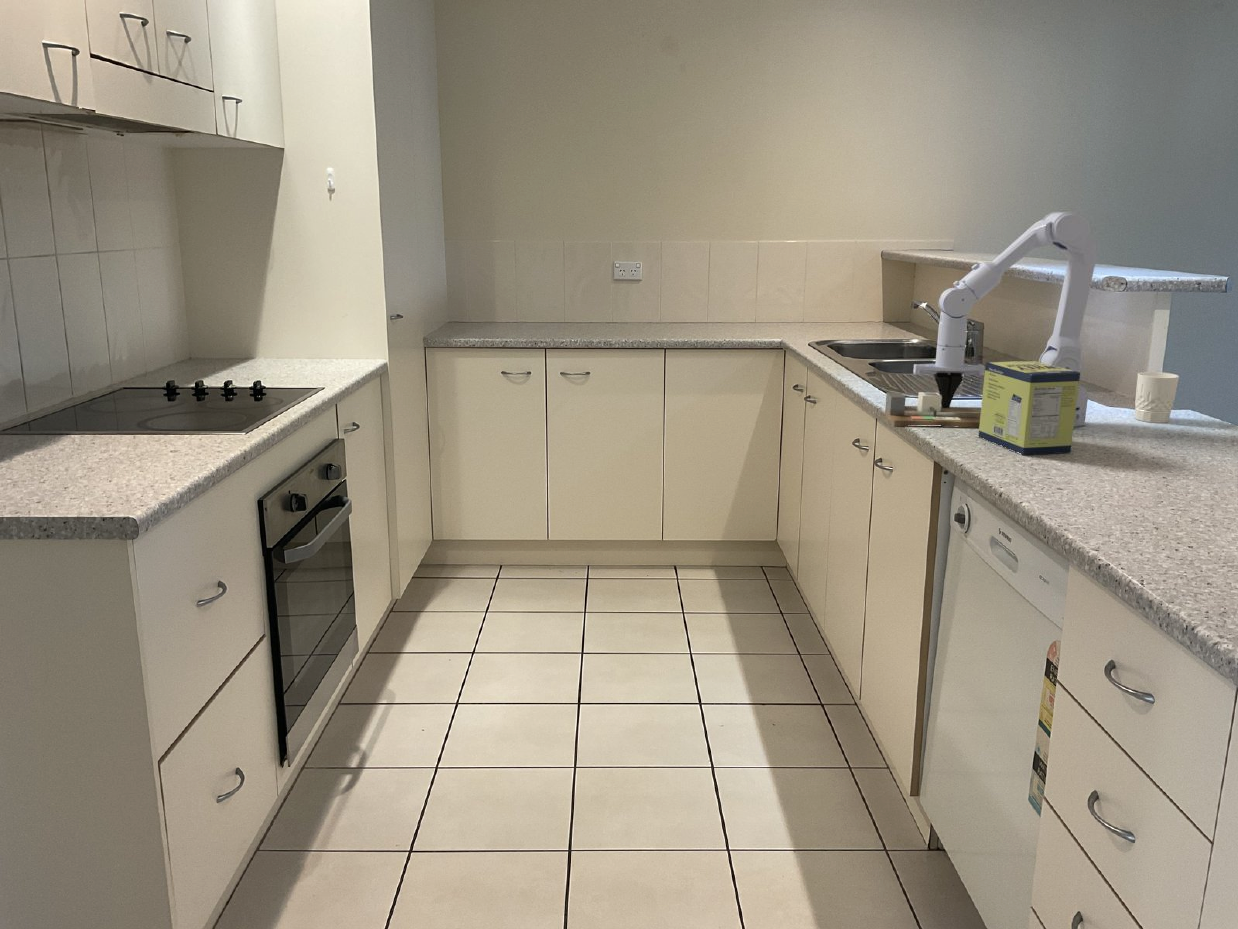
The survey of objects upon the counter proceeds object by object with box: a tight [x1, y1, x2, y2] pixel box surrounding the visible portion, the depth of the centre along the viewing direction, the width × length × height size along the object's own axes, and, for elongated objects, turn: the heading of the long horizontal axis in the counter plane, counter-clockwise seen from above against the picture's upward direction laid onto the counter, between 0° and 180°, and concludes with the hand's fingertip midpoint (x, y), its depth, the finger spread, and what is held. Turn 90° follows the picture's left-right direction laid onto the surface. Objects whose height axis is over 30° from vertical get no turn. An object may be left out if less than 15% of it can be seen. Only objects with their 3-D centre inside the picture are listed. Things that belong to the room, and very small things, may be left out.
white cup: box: [1133, 371, 1180, 424], centre depth 211 cm, size 8×8×10 cm
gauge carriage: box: [917, 391, 942, 417], centre depth 210 cm, size 4×8×4 cm, turn 175°
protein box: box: [978, 359, 1081, 456], centre depth 188 cm, size 10×16×16 cm
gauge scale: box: [910, 416, 961, 421], centre depth 207 cm, size 10×3×1 cm, turn 85°
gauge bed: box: [884, 409, 980, 429], centre depth 210 cm, size 22×11×1 cm, turn 85°
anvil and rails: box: [884, 391, 981, 417], centre depth 211 cm, size 21×6×4 cm, turn 85°
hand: (945, 407), depth 211 cm, fingers closed
